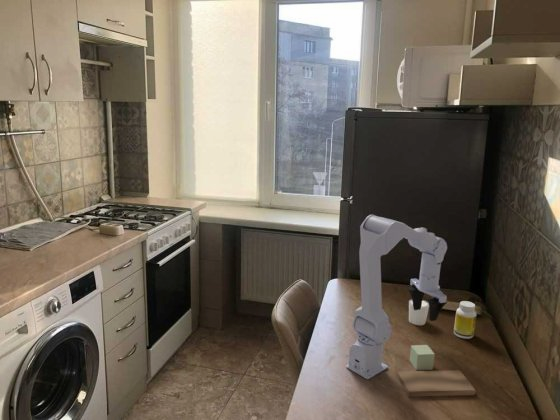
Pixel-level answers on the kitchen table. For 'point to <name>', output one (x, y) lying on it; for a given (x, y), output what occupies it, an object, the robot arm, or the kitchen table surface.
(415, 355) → the sage cube
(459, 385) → the walnut board
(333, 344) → the kitchen table surface
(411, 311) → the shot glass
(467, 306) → the pill bottle
